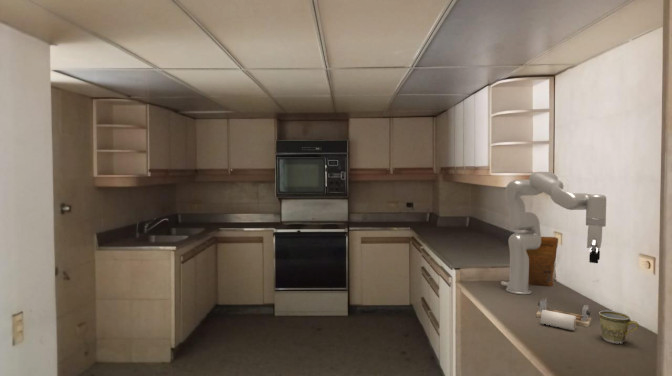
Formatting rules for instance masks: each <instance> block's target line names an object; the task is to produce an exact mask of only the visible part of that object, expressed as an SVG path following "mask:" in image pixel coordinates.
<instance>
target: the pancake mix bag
mask: <svg viewBox="0 0 672 376" xmlns="http://www.w3.org/2000/svg"><path fill="white" fill-rule="evenodd" d="M558 244H559V238H558V237H555V236H541V245H540V247H539V248H538V249H535V250H526V252H527V254H528V257H529V283H528V286H529V285H530V286H541V287H543V286H544V287H553V286H554V281H553V279H554V272H555V261H556V258H557V250H558V246H559V245H558Z"/></svg>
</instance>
